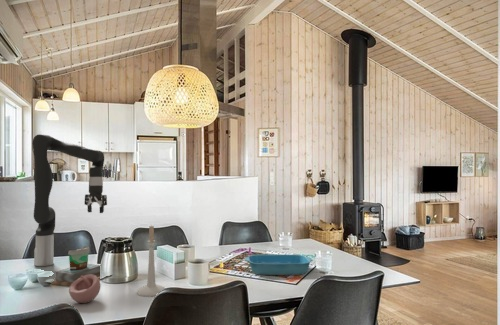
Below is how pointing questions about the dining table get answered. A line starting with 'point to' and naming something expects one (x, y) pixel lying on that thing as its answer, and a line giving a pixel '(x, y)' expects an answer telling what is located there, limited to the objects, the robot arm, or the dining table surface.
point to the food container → (78, 258)
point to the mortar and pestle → (85, 288)
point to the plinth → (75, 274)
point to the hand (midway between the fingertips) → (95, 212)
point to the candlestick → (150, 271)
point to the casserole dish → (279, 264)
